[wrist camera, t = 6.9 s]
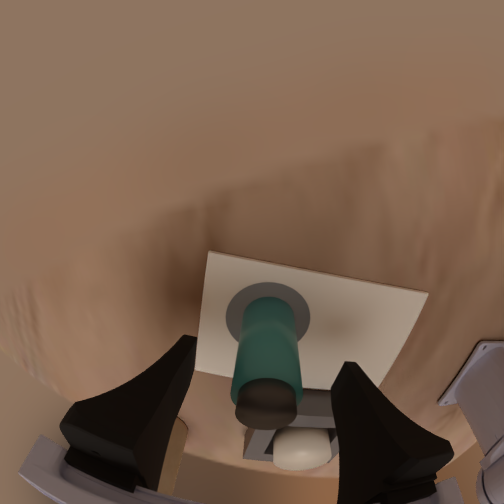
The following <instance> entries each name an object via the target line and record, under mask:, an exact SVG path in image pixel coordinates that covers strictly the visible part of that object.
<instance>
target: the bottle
mask: <svg viewBox="0 0 504 504" xmlns="http://www.w3.org/2000/svg"><path fill="white" fill-rule="evenodd" d="M230 394H231V399H232V401H233V403H234V404H235V405H236V410H235V415H236V418H237V419H238V421H239V422H241V423H242V424H243V425H245V426H247V427H250V428H253V429H257V430H276V429H280V428H283V427H286V426H288V425H289V424H291V423H292V422H293V421H294V420H295V419H296V417H297V406H298V405H299V404H300V402H301V401H302V398H303V387H302V378H301V369H300V360H299V351H298V343H297V335H296V327H295V319H294V313H293V310H292V308H291V307H290V305H289V304H288V303H286V302H285V301H283V300H282V299H279V298H276V297H261V298H258V299H256V300H254V301H252V302H251V303H250V304H249V305H248V306H247V307H246V308H245V310H244V313H243V319H242V325H241V331H240V337H239V344H238V350H237V356H236V362H235V368H234V374H233V381H232V387H231V393H230Z"/></svg>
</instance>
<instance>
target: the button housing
mask: <svg viewBox="0 0 504 504" xmlns="http://www.w3.org/2000/svg"><path fill="white" fill-rule="evenodd" d="M288 426H295V427H313V428H328V434H329V441H330V448H331V454H332V457H331V459H330V460H329V461H328V462H327V463H329V462H330V461H331V460H332V459H333V458H334V457H335V456H336V455H337V454H338V452H339V445H338V438H337V433H336V427H335V422H334V417H333V412H332V406H331V391H319V390H307V389H303V398H302V401H301V402H300V404H299V405H298V406H297V417H296V419H295V420H294V421H293V422H292V423H291V424H289V425H288ZM275 431H276V430H257V429H253V428H250V427H248V429H247V432H246V434H245V439H244V450H243V459H251V460H260V461H271V462H273V435H274V433H275Z"/></svg>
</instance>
